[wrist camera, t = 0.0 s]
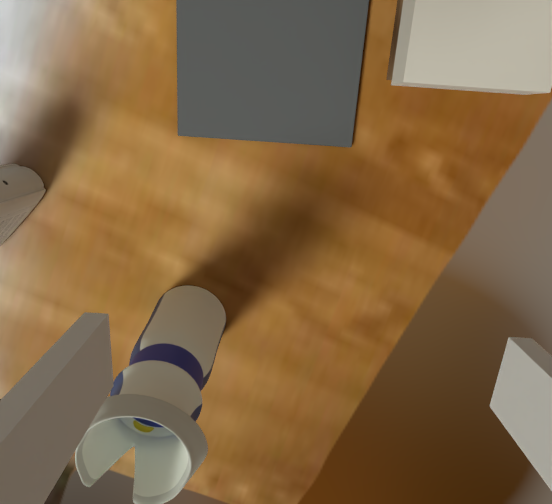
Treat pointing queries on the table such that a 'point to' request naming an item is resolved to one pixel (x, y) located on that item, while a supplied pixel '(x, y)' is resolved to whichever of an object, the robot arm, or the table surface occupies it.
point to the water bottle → (159, 399)
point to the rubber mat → (270, 69)
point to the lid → (475, 45)
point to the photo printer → (17, 196)
